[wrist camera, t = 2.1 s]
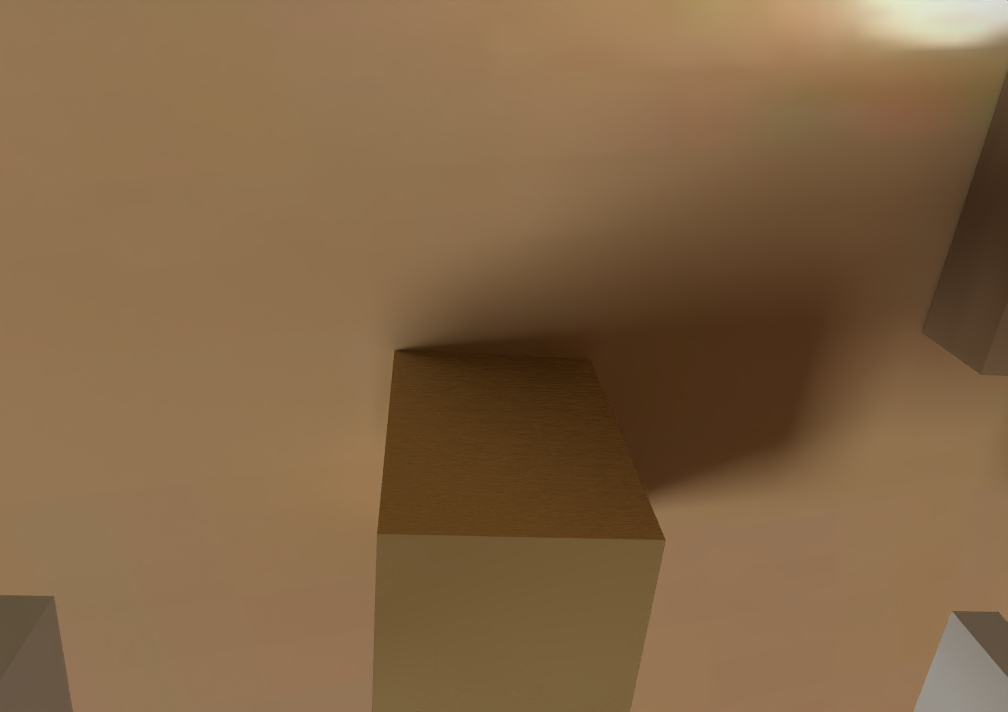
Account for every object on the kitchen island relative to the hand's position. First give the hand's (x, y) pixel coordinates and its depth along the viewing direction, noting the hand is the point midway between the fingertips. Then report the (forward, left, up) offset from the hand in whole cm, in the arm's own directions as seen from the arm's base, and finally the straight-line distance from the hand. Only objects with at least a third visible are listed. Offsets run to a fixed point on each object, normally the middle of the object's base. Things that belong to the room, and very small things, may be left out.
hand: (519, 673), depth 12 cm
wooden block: (0, 0, -6) cm, 6 cm away
